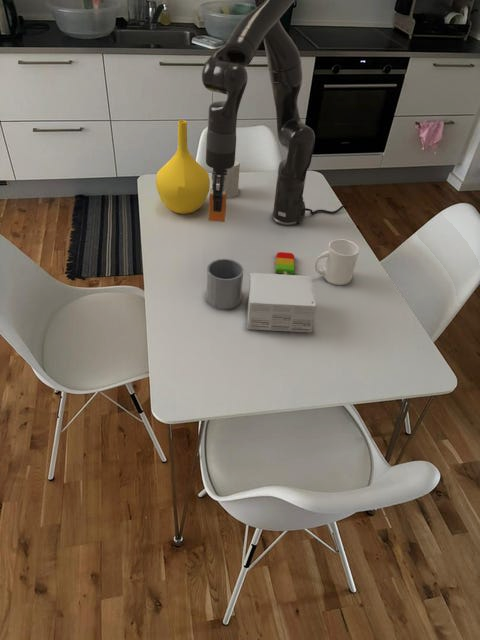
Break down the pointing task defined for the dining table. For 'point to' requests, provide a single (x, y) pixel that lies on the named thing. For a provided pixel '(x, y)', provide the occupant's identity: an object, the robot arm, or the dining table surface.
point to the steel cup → (224, 283)
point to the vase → (182, 178)
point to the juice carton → (217, 215)
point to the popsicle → (285, 263)
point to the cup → (232, 180)
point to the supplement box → (281, 302)
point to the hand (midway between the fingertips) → (217, 207)
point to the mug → (339, 261)
